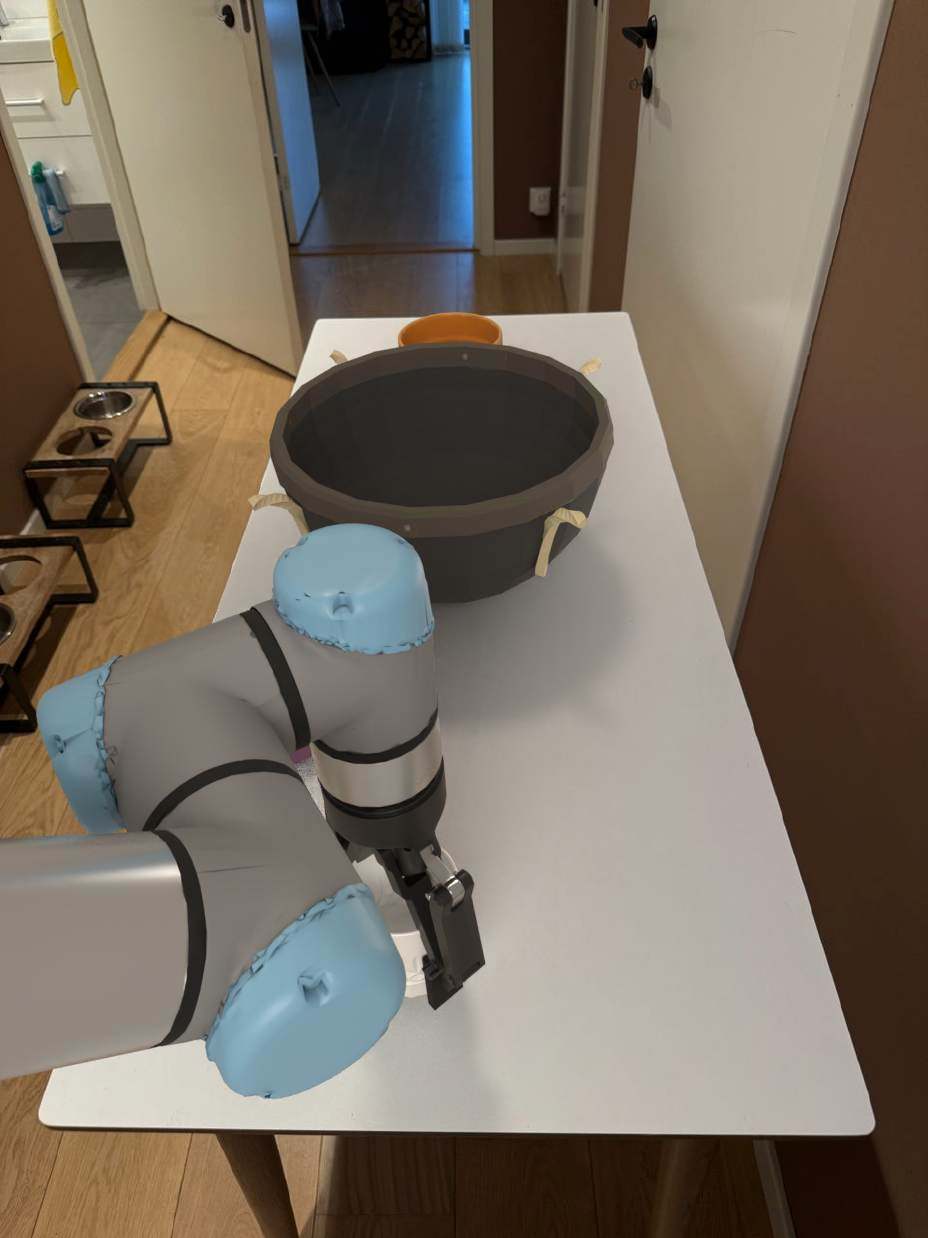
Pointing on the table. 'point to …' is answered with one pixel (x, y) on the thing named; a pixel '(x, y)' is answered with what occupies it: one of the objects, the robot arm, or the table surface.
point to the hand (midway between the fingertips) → (411, 955)
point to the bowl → (448, 457)
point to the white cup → (399, 920)
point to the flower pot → (451, 329)
